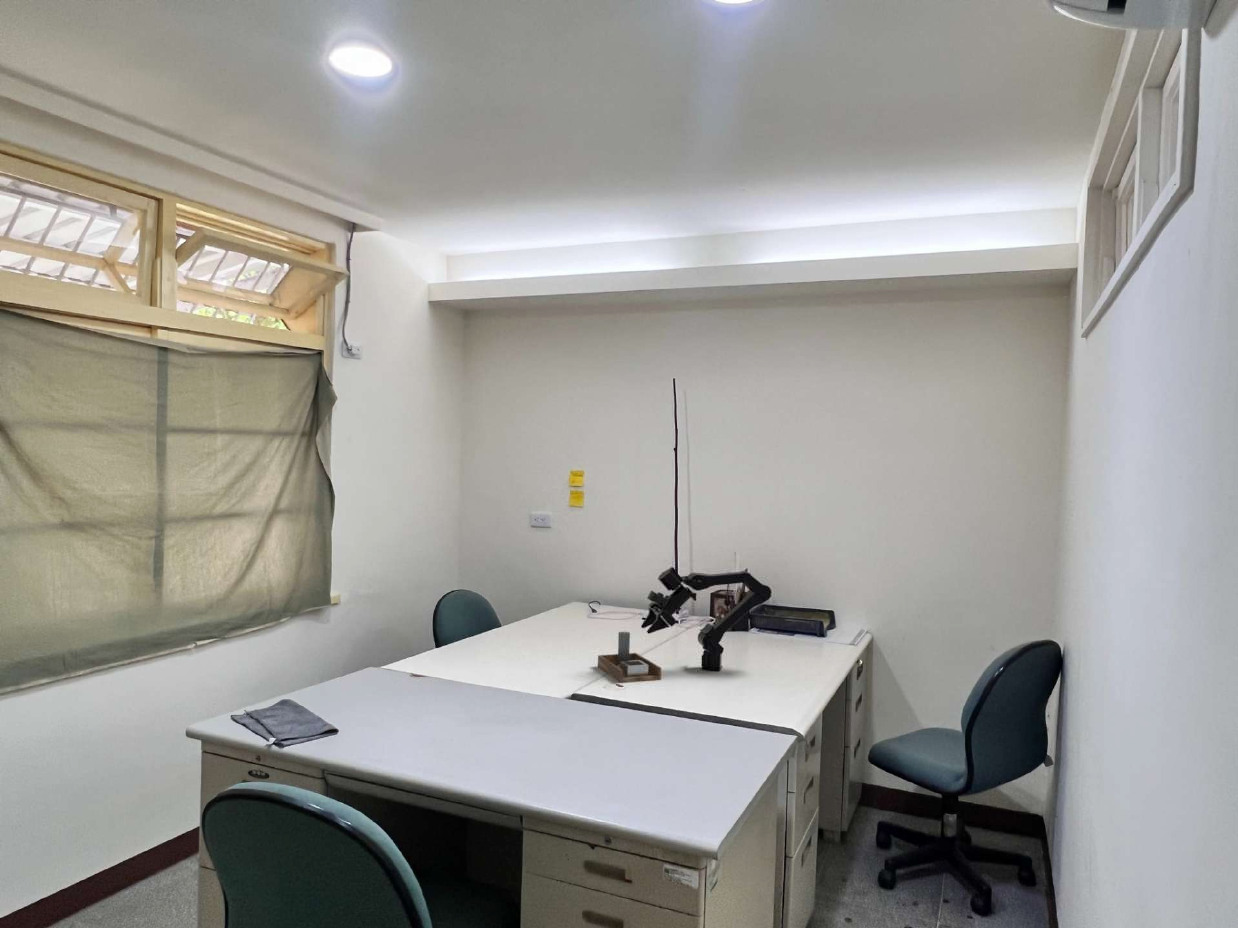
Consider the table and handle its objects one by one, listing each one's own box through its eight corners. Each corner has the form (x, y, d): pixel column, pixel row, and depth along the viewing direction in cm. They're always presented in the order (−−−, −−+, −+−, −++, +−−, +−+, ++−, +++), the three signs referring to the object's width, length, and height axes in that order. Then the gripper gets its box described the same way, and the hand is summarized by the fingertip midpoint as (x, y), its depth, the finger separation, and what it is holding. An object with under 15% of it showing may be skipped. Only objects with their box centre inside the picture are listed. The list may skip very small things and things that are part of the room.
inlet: (639, 672, 288) (639, 659, 288) (648, 678, 281) (648, 664, 281) (619, 674, 285) (619, 661, 285) (627, 679, 278) (627, 666, 278)
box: (635, 665, 301) (635, 652, 301) (660, 680, 279) (661, 667, 279) (597, 667, 295) (598, 655, 295) (620, 684, 274) (620, 670, 274)
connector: (630, 668, 293) (631, 632, 293) (627, 671, 289) (627, 634, 289) (619, 667, 294) (620, 631, 294) (616, 670, 291) (617, 633, 291)
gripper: (655, 579, 305) (624, 608, 302) (668, 587, 286) (635, 618, 284) (675, 601, 306) (644, 630, 304) (689, 610, 288) (656, 641, 285)
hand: (644, 629), depth 294 cm, fingers open, 9 cm apart
